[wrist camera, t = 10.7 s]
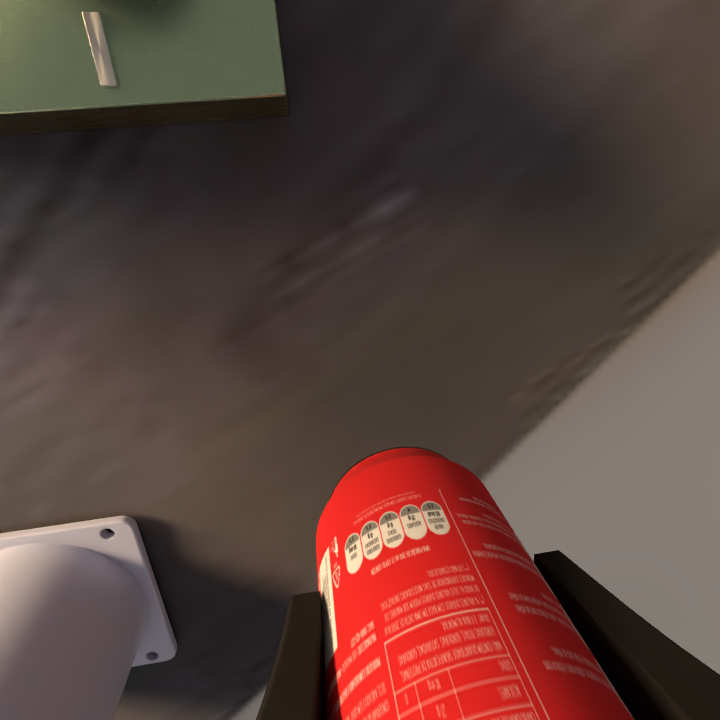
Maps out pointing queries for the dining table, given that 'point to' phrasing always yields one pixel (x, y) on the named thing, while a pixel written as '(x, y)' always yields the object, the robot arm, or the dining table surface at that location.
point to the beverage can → (442, 605)
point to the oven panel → (137, 63)
